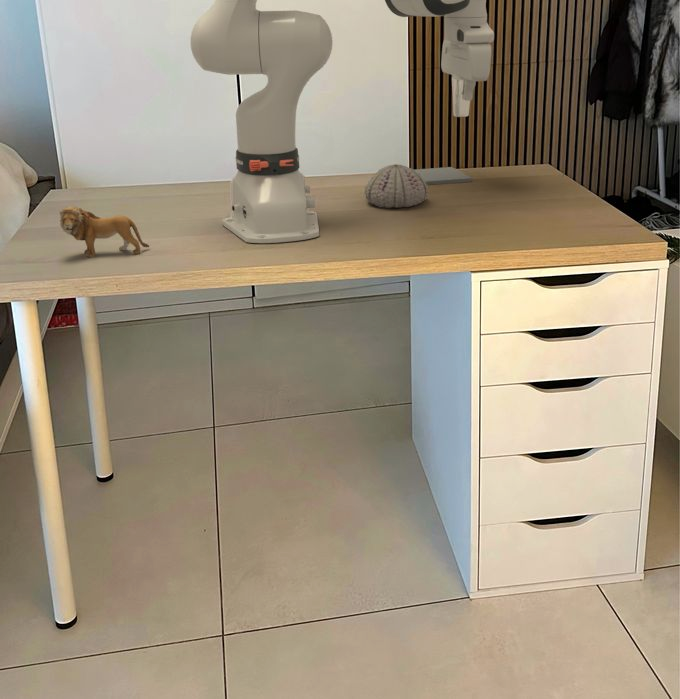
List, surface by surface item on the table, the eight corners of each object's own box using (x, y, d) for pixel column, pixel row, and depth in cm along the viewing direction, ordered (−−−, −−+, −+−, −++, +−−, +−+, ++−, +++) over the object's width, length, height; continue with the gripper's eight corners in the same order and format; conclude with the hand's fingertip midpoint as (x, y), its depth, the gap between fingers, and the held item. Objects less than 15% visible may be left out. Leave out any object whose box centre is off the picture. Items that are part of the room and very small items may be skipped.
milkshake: (476, 117, 197) (478, 69, 193) (451, 117, 198) (452, 69, 194) (474, 114, 202) (475, 66, 198) (449, 114, 202) (451, 67, 198)
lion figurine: (65, 262, 158) (58, 211, 154) (64, 253, 163) (57, 204, 159) (151, 253, 162) (146, 203, 158) (147, 245, 166) (142, 196, 163)
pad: (471, 181, 209) (471, 178, 209) (417, 185, 206) (418, 182, 206) (451, 170, 221) (451, 166, 220) (400, 173, 218) (400, 170, 218)
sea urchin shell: (438, 207, 189) (439, 168, 185) (377, 214, 184) (377, 174, 181) (412, 193, 200) (412, 156, 197) (354, 199, 196) (354, 162, 193)
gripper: (435, 28, 201) (433, 93, 207) (468, 35, 183) (465, 105, 189) (462, 27, 203) (460, 91, 208) (497, 33, 184) (494, 104, 190)
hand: (463, 98), depth 198 cm, fingers closed on milkshake, 4 cm apart
